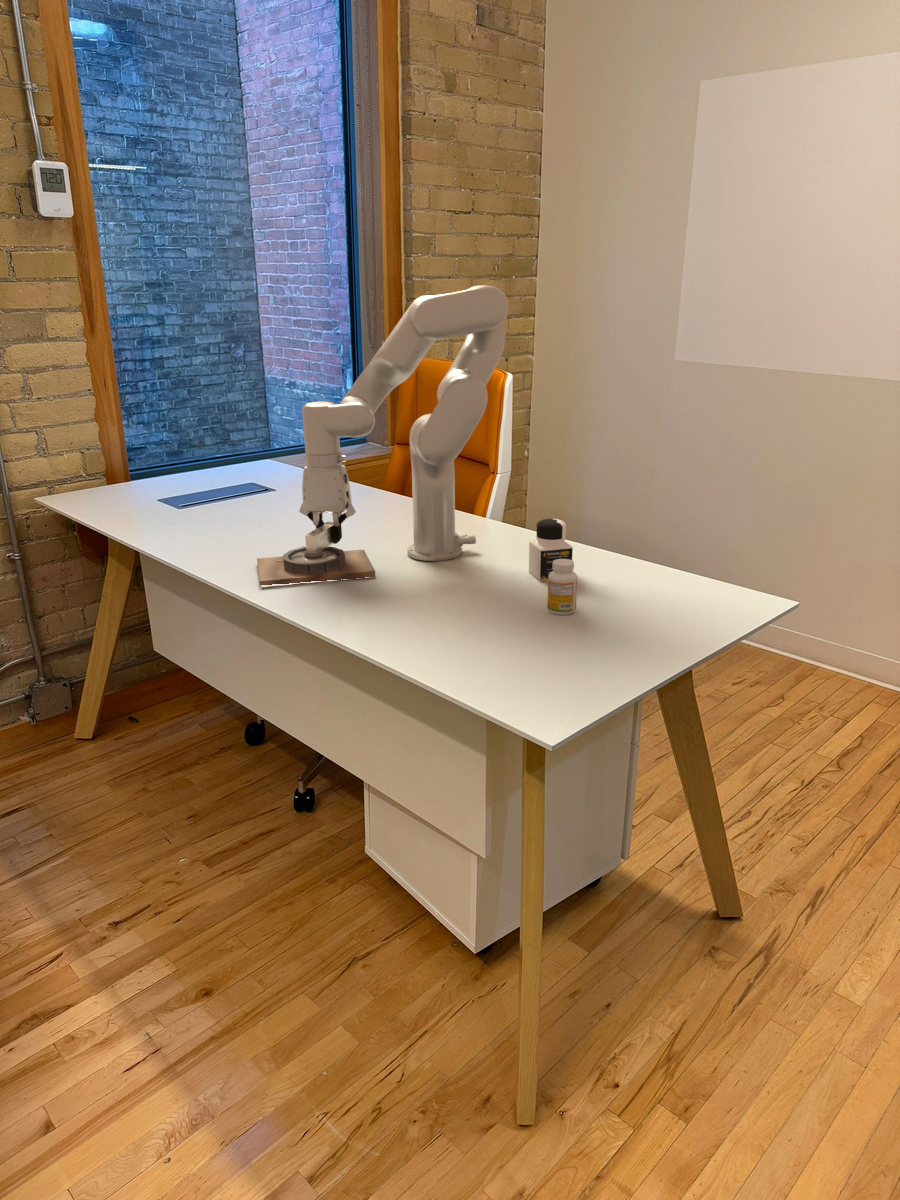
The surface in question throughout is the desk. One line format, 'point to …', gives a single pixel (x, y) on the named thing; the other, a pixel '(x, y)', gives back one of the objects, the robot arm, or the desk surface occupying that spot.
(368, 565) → the dial base
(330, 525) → the dial
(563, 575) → the supplement bottle
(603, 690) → the desk surface
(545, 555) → the medicine bottle
